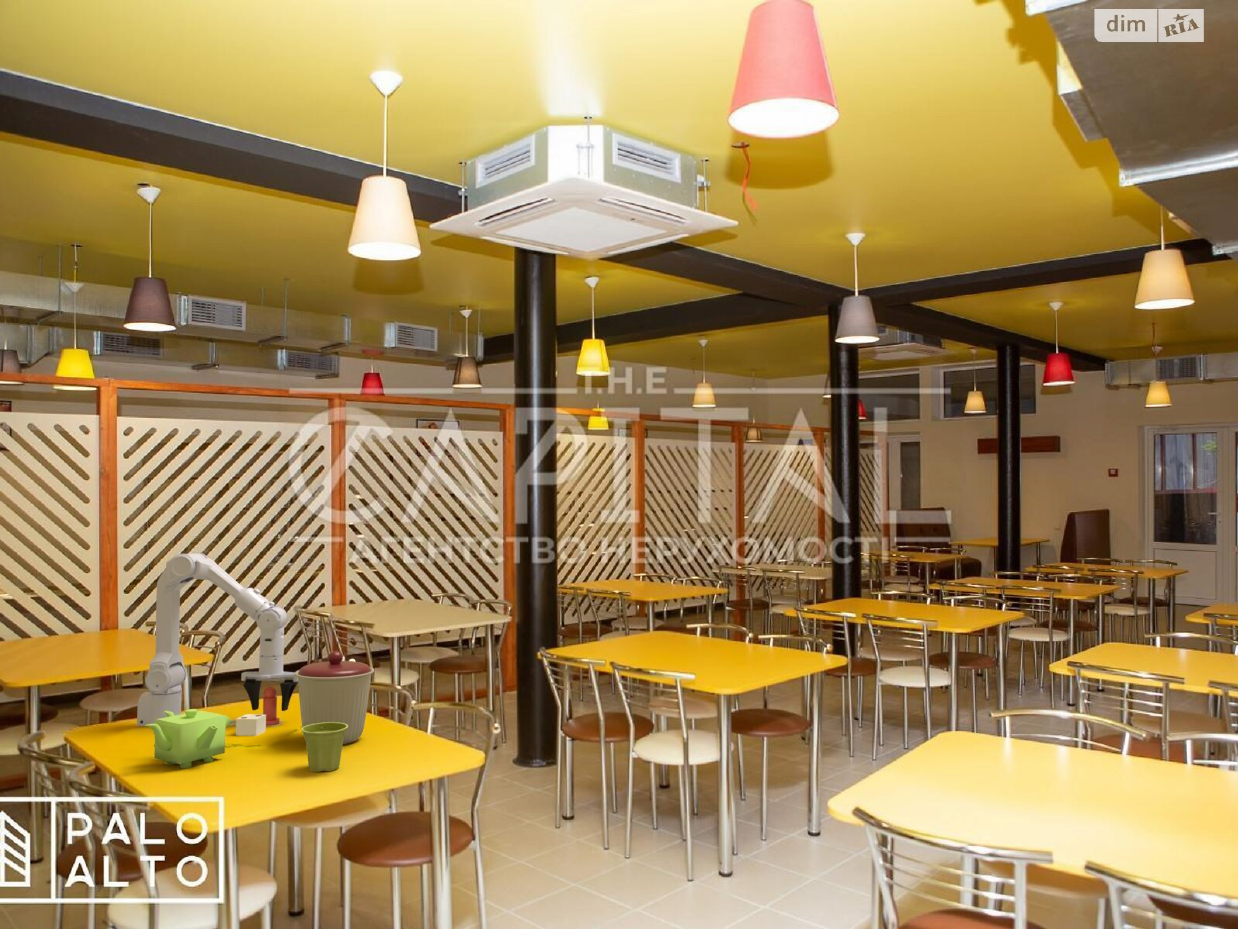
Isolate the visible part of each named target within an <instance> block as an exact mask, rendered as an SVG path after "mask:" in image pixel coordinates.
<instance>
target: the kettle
mask: <svg viewBox="0 0 1238 929" xmlns="http://www.w3.org/2000/svg"><path fill="white" fill-rule="evenodd" d="M164 712H165V714H166V715H167V717H165V718H160V719H156V723H155V724H147V725H145V726H144V727H148V728H150V729H152V731H153V734H154V751H153V752H154V753H153V754H154V757H153V758H154V759H157V760H161V761H165V762H164V765H174V763H175V764H177V765H179V769H189V768H192V762H194V761H199V760H202V761H203V762H202V763H213V762H215V759H214V758H213V757H215V756H218V755H222V754H225V752H226V728H227V727H228V726H230V725H229V724H230V723H231V722H232V721H231V720H232V719H231V718H230V717H229V716H227V715H225V714H220V713H215V712H210V711H205V710H198V709H196V708H190V709H185V710H184V713H181V714H180V715H174V713H173V712H171V711H164Z"/></svg>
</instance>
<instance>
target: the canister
mask: <svg viewBox="0 0 1238 929" xmlns="http://www.w3.org/2000/svg"><path fill="white" fill-rule="evenodd" d="M343 657H344V654H343V653H342V652H341V651H337V650H336V651H331V652H329V653H328V655H327V661H321V662H315V663H310V664H306V665H304V666H302V667H301V668H300V669H298V670H296V671H295V672H294V673H295V676H296V677H298V684H297V685H298V686H297V687H298V696H299V697H298V698H299V699H298V700H299V710H300V711H299V712H300V722H301V729H302V728H303V727H304V726H307V725H310V724H316V723H324V722H338V723H345V724H347V725H348V728H347V729H346V732H345V735H344V739H343V745H345V744H346V745H347V744H350V743H353V742H356V741H357V740H359V739H360V738H361V736H362V734H363V732H364V730H365V723H366V718H367V710H368V703H369V698H370V697H369V694H370V688H371V680H372V674H373V673H374V672H375V669H374V668H373V667H371V666H369V665H368V664H366V663H364V662H360V661H355V662H354V661H349V660H344V661H342V660H343Z"/></svg>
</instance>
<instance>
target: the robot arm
mask: <svg viewBox="0 0 1238 929" xmlns="http://www.w3.org/2000/svg"><path fill="white" fill-rule="evenodd" d="M194 580H205V581H209V582H211V583H212V584H213V585H215V586H216V587H218V588H219V589H221V590H222V591H224V592H226V593H227V594H228V595H229V596H231V597H232V598H234V605H235V606H236V607H237V608H238V609H239V610H240V611H242V612H243V613H244V614H246V615H247V616H248V617H250V618H251V619H252V620H253V621H255V622H256V626H257V628H258V629H259V630H260V631H259V632H260V634H259V636H260V637H259V660H258V661H259V662H258V663H259V664H258V666H259V668H258V671H244V672H241V678H240V679H241V682H242V681H243V682H244V683H243V688H244V689H245V691H246V693H247V695H248V698H249V702H250V706H251V709H252V711H256V710H259V709H260V694H261V693H260V692H261V685H262V681H263V682H264V681H265V682H266V681H267V682H271V681H272V682H273V681H274V682H280V683H279V686H280V691H281V692H280V693H281V712H286V711H287V710H289V706H290V703H291V702H290V701H291V698H292V696H293V693H294V690H295V689H296V688H297V685H298V677H296V676H295V672H293V671H292V672H291V671H284V655H285V654H284V653H285V652H284V650H285V627H284V626H285V625H286V624H287V622H288V621H289V620H288V619H289V618H288V613H287V612H286V610H285V609H284V607H283V606H279V605H276V603H275V602H274V601H270V600H268V599H267V598H266V597H265V596H263V595H261V591H260V589H258V588H253V587H244V586H243V585H242V584H240V583H239V582H237V581H236V579H234V577H232V576H231V575H230V574H229V573H228V572H226V571H225V570H224V569H223V568H222V567H221V566H219V565H218V564H217V563H216V562H215V560H214V559H211V558H208V556H207V555H206V554H204V553H202V552H192V553H179V554H176V555H175V556H173V557H172V558H171V559H169V560H168V561H166V563H165V568H164V569H163V571H162V573H161V575H160V577H159V578H158V580H157V582H156V599H155V600H156V603H155V605H156V606H155V615H156V616H155V650H154V651H155V654H154V656H153V657H152V658H151V660H150V662H149V669H148V672H147V674H146V676H145V680H144V682H145V686H146V688H147V690H149V691H145V692H143V693H141V695H140V696H139V698H138V702H137V711H136V712H137V717H136V727H146V726H145V725H147V724H155V723H156V719H160V718H165V717H167V715H166V714H165V712H164V711H171V712H173V713H174V715H180V714H182V695H183V691H182V690H183V687H182V684H183V683H184V682H186V680H187V669H186V667H185V664H184V656H183V655H182V654H181V652H180V624H181V623H180V620H181V619H180V614H181V590H182V589H183V588H184V587H185V586H186V585H187V584H189V583H191V581H194Z"/></svg>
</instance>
